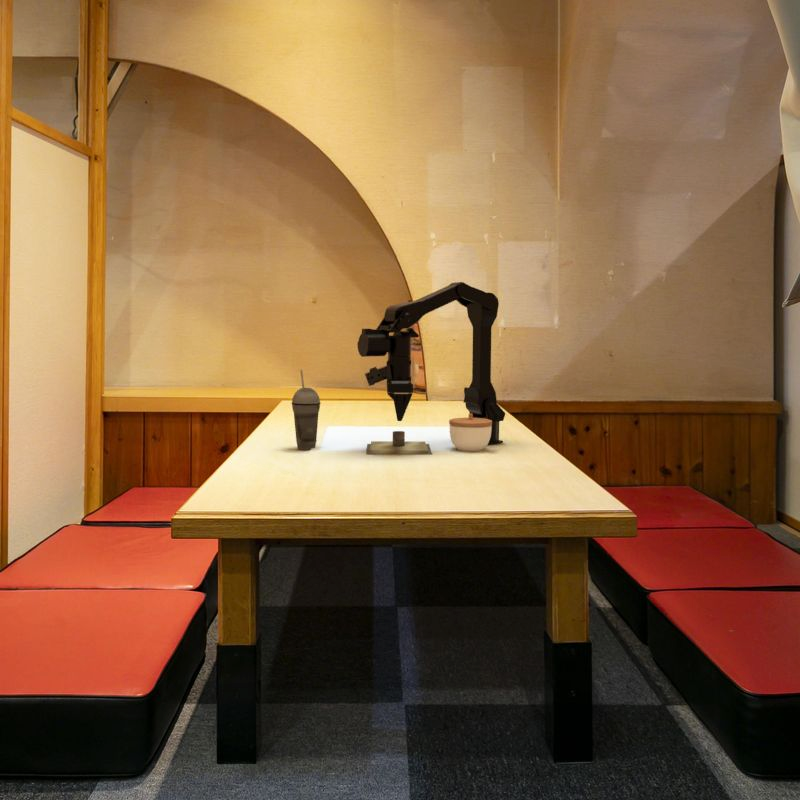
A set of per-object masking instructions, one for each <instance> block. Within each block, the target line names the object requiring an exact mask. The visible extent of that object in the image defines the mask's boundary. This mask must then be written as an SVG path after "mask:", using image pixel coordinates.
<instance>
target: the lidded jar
mask: <svg viewBox="0 0 800 800" xmlns="http://www.w3.org/2000/svg"><path fill="white" fill-rule="evenodd" d="M448 422H449V423H448V424H449V436H450V440H451V443H452V444H453V446H454V447H455V448H456V449H457V450H459V451H462V452H481V451H483V450H484V449H485V448H487V446H488V445H489V444H488V443H489V441H490V437H491V430H492V420H489V419H484V418H473V414H470V413H468V417H455V418H450V419H449V420H448Z"/></svg>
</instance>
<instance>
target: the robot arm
mask: <svg viewBox="0 0 800 800" xmlns="http://www.w3.org/2000/svg"><path fill="white" fill-rule="evenodd" d="M454 301H455V302H456V301H457V303H459V305H461V306H462V307H465V308H466V311H467V317H468V320H469V321H470V324H471V327H472V361H471V362H472V366H471V369H472V375H471V377H472V379H471V383H470V385H468V386H469V387H464V390H463V393H464V394H463V396H464V398H463V403H464V405H465V408H466V410H468V412H469V413H468V414H473V418H484V419H489V420H492V430H491V437H490V441H489V443H488V444H487V445H493V444H502V443H504V440H502V439H500V422H504V420H505V417H506V412H505V411H504V410H503V408H501V406H499V404H498V400H497V399H498V398H497V392H496V389H495V387H494V385H493V383H492V377H491V376H492V327H493V325H494V323H495V321H496V319H497V317H498V312H499V306H500V304H499V302H500V301H499V299H498V297H497V296H496V295H495V294H494V293H493V292H485V291H483V290H481V289H479V288H476V287H473V286H471V285H469V284H467V283H465V282H464V281H463V282H462V281H459V282H458V281H457V282H451V283H450V284H448V285H446V286H445V287H442V288H440V289H437V290H436V291H434V292H431V293H429V294H427V295H425V296H422V297H420V298H418V299H416V300H413V301H408V302H402V303H396V304H393V305H390V306H388V307H387V308H386V309H385V312H384V317H383V318H382V319H381V322H379V324H378V326H377V328H376V329H372V328H362V329H361V333H360V335H359V337H358V341H357V345H356V346H357V351H358V354H359V356H360V357H364V358H366V357H368V358H369V357H385V356H386V355H387V360H386V365H385V366H381V367H378V368H377V366H374V367H371V368H369V371H367V372H364V376H365V379H366V381H367V384H368V386H369V387H371V386H374V385H375V384H377V383H380V382H382V381H385V380H386V393H387V395H388V396H389V397H390V398H391V399H392V401H393V403H394V411H395V415H396V420H397V421H398V422H402V421H403V418H404V417H405V413H406V412H407V409H408V406H409V403H410V401H411V399H412V397H413V393H414V384H413V382H412V376H411V375H412V374H411V373H412V370H411V369H412V338H419V337H420V335H419V334H418V333H417V332H416V331H415V330H414V328H413V327H412V326H414V325H415V324H416V323H418V322H419V321H420V320H421V319H422V318H423V317H424V316H426V315H427V314H429V313H431V312H434V311H436V310H437V309H439V308H443V307H444V306H446V305H449V304H451V303H453V302H454ZM403 329H405V330H403ZM390 333H393V334H392V335H390Z"/></svg>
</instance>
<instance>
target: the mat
mask: <svg viewBox="0 0 800 800" xmlns="http://www.w3.org/2000/svg"><path fill="white" fill-rule="evenodd" d="M426 446H427V449H428V454H370V447H371V443H367V444H366V452H365V455H369V456H370V455H373V456H374V455H375V456H377V455H379V456H380V455H381V456H382V455H386V456H389V455H391V456H392V455H396V456H397V455H399V456H401V455H402V456H404V455H405V456H407V455H408V456H411V455H413V456H414V455H415V456H417V455H418V456H422V455H423V456H425V455H427V456H428V455H430V456H431V455H433V453H432V449H431V446H430V443H426Z"/></svg>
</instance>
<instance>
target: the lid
mask: <svg viewBox="0 0 800 800" xmlns="http://www.w3.org/2000/svg"><path fill="white" fill-rule="evenodd" d="M405 434H406V433H405V431H403V430H394V431H392V441H390V440H389V441H386V440H385V441H383V440H382V441H381V440H379V441H377V440H373V441H370V444H371V447H370V454H428V449H427V446H426V444H427V443H426V441H419V440H418V441H417V440H416V441H405V438H406V437H405V436H406V435H405Z"/></svg>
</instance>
